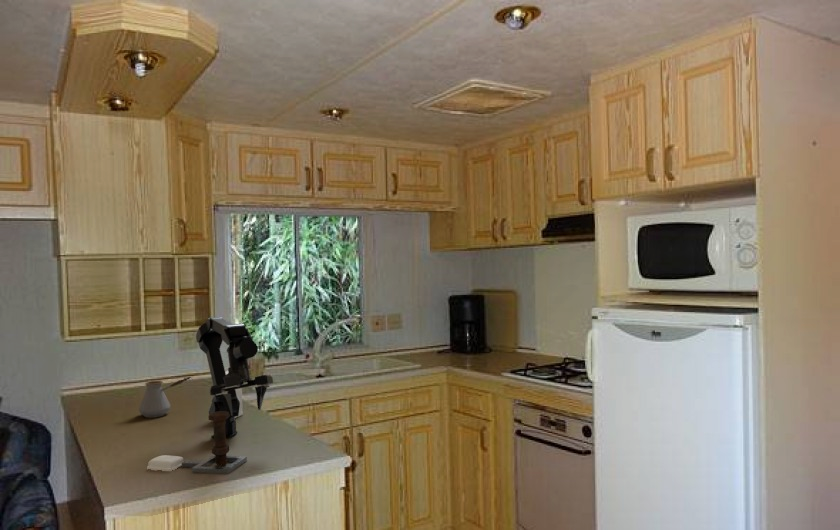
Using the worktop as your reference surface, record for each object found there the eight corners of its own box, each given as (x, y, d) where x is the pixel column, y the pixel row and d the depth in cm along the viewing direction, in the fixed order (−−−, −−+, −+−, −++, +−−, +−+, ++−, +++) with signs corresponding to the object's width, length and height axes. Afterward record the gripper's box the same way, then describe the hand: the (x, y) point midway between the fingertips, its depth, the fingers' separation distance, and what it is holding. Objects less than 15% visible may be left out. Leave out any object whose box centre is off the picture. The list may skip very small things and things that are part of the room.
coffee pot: (132, 419, 233) (131, 379, 233) (149, 411, 245) (148, 374, 245) (185, 419, 231) (184, 379, 231) (199, 411, 242) (198, 373, 242)
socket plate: (174, 471, 170) (173, 467, 170) (195, 459, 181) (195, 455, 181) (228, 473, 167) (228, 469, 167) (246, 460, 178) (246, 456, 178)
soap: (187, 465, 177) (186, 455, 177) (171, 472, 171) (170, 462, 171) (161, 463, 180) (161, 453, 180) (144, 470, 173) (144, 460, 173)
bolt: (229, 460, 179) (227, 409, 178) (233, 465, 174) (231, 413, 174) (209, 464, 176) (206, 412, 175) (212, 469, 171) (210, 416, 171)
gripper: (199, 368, 187) (205, 420, 183) (257, 356, 186) (265, 407, 182) (214, 369, 197) (220, 418, 194) (270, 357, 196) (277, 406, 193)
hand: (245, 412), depth 191 cm, fingers open, 9 cm apart
